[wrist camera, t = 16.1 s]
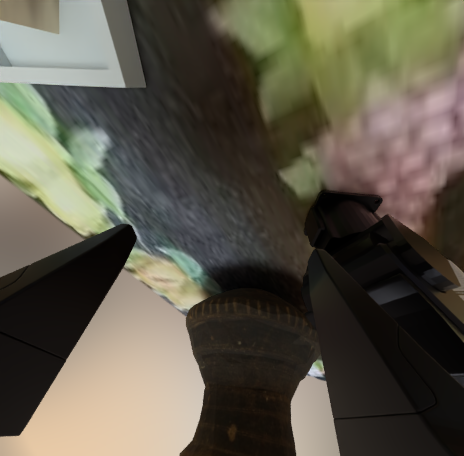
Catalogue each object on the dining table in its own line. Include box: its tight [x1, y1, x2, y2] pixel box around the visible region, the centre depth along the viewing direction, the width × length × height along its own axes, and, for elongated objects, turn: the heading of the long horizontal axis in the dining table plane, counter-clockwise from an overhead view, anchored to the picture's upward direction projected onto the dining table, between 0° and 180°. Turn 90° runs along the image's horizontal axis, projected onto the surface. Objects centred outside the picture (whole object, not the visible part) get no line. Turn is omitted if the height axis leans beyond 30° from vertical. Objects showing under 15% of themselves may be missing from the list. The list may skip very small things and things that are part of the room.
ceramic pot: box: [180, 288, 321, 456], centre depth 28 cm, size 24×24×22 cm
